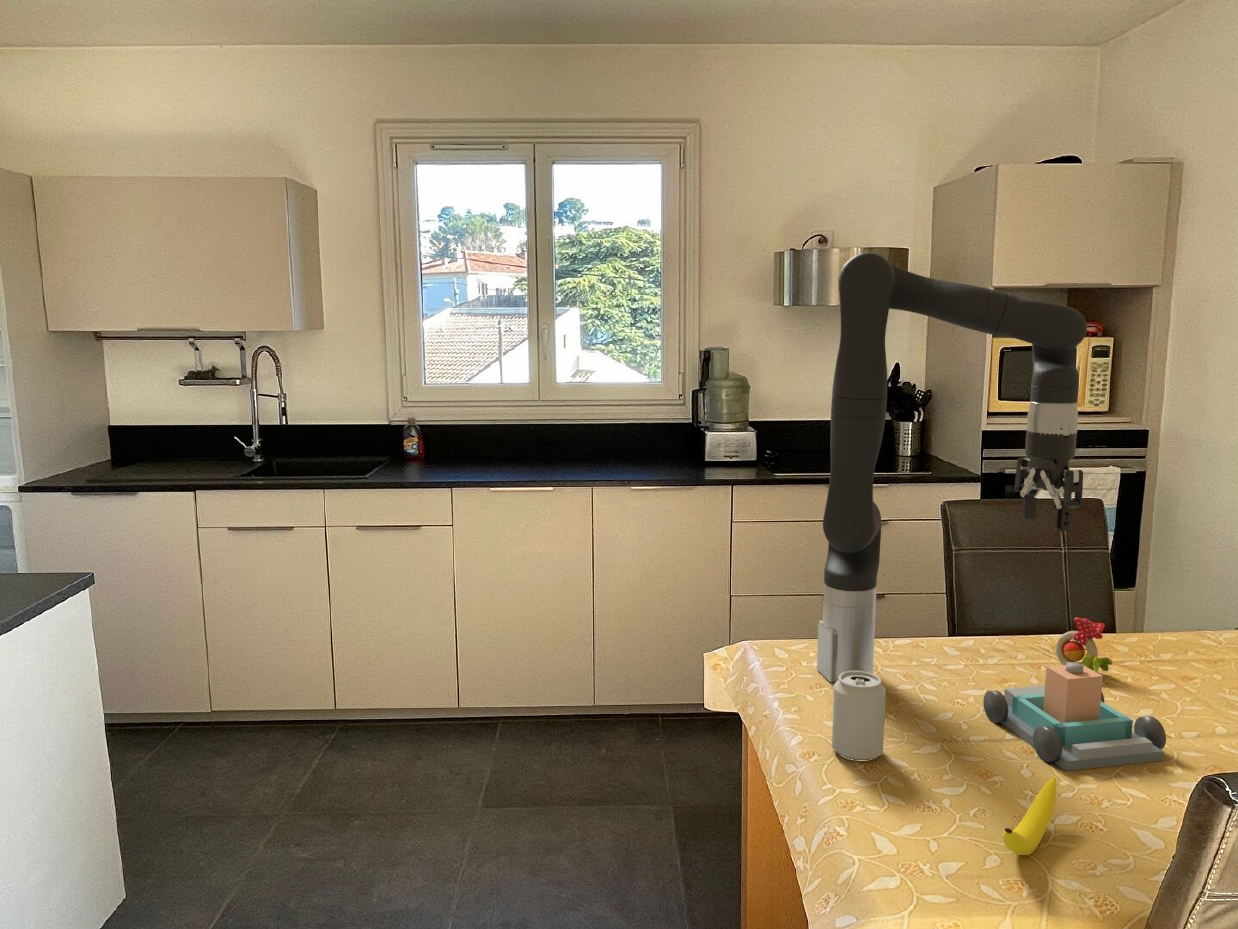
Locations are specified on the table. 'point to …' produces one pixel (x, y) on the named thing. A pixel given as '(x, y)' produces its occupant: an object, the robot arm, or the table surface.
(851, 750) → the can
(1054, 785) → the banana
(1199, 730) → the table surface
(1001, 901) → the table surface
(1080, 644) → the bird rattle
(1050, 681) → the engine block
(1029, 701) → the chassis
